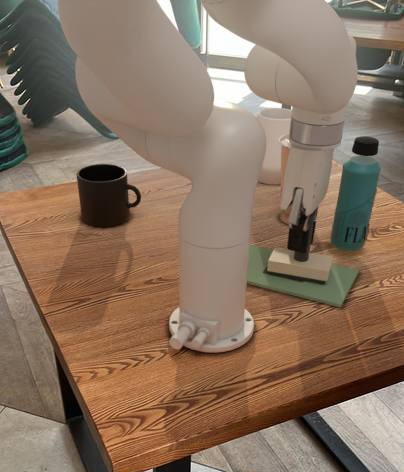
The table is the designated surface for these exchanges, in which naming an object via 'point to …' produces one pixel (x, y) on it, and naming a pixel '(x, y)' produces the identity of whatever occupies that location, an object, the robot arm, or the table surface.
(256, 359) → the table surface
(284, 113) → the cup
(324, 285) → the mat
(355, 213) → the beverage bottle
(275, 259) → the scrub brush
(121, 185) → the mug
